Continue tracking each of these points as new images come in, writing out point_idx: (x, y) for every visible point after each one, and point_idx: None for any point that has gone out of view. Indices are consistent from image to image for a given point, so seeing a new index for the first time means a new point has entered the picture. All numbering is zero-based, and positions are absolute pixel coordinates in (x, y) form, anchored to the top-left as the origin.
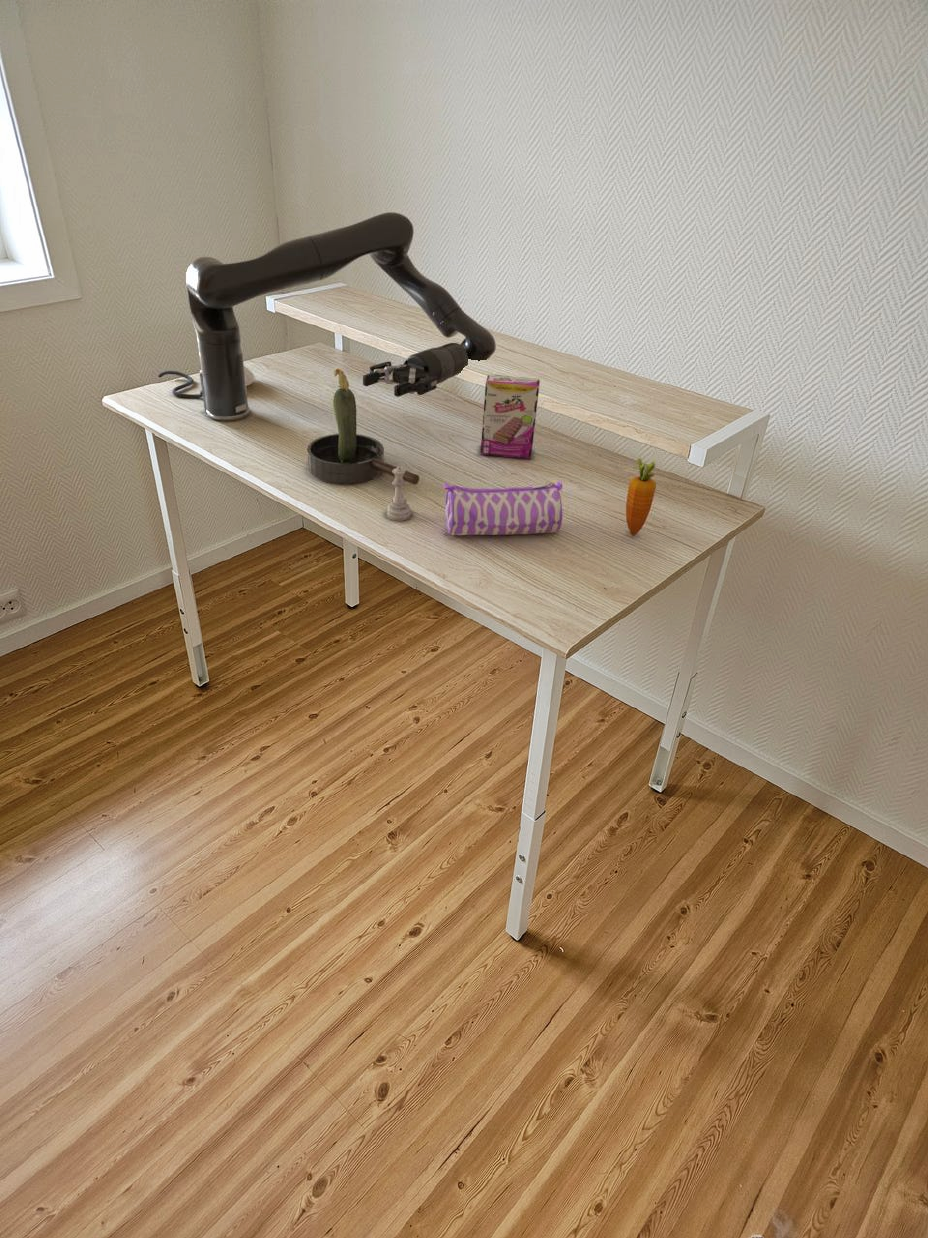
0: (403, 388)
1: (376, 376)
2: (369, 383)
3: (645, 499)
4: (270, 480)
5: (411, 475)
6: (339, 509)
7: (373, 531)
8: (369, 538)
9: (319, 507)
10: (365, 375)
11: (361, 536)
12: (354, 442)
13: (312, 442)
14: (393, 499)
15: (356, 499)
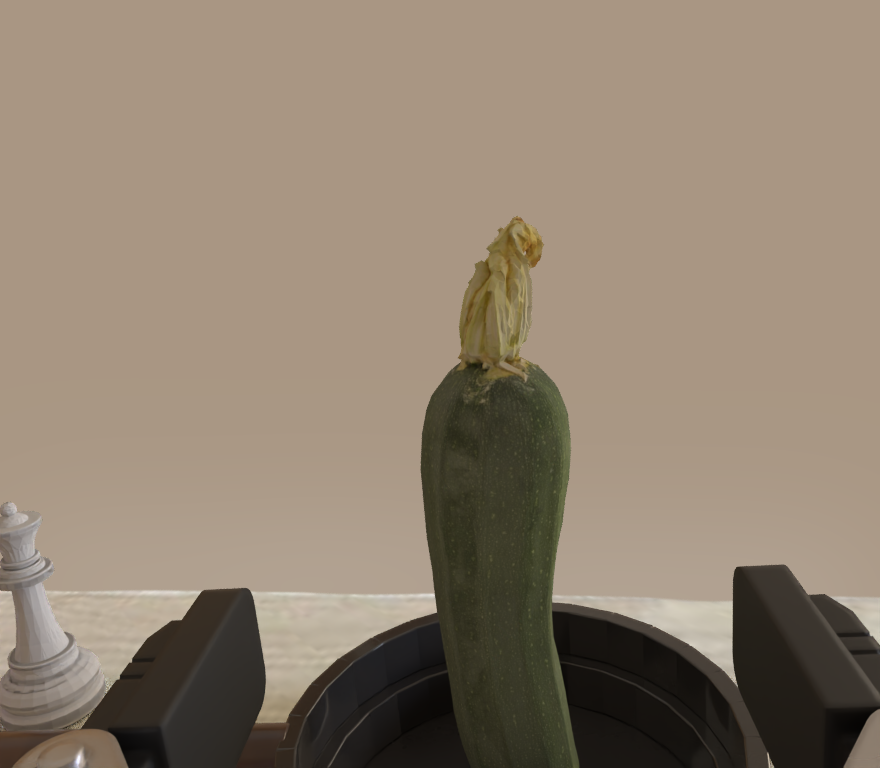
0: (143, 648)
1: (809, 751)
2: (753, 702)
3: None
4: (662, 611)
5: (5, 731)
6: (296, 629)
7: (120, 616)
8: (119, 595)
9: (366, 607)
10: (762, 567)
11: (148, 591)
12: (452, 698)
13: (712, 671)
14: (64, 633)
15: (278, 692)
